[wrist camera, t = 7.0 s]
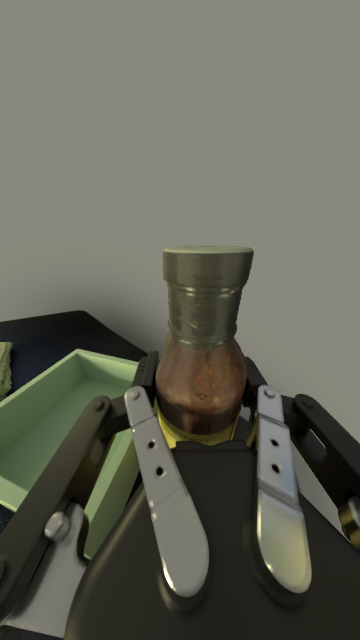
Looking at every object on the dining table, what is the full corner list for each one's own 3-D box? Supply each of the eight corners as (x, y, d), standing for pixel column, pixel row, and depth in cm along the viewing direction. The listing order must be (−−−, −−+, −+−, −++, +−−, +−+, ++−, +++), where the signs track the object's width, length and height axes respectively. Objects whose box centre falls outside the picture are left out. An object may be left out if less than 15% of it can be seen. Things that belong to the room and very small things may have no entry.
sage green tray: (168, 397, 22) (167, 368, 20) (101, 567, 11) (78, 549, 8) (86, 375, 26) (77, 348, 23) (-32, 484, 14) (-76, 454, 12)
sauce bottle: (193, 413, 20) (208, 245, 11) (235, 460, 16) (313, 247, 7) (149, 451, 16) (120, 244, 8) (188, 526, 12) (226, 248, 3)
